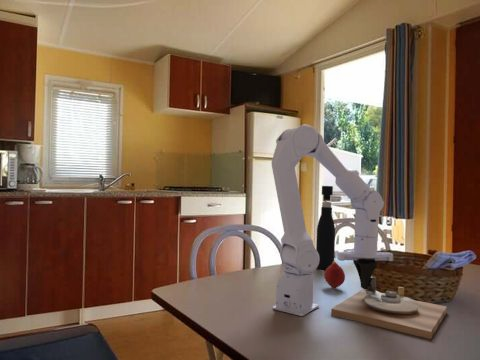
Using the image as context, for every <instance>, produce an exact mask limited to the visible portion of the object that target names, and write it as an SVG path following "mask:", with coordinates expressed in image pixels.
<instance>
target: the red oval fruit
mask: <svg viewBox="0 0 480 360" xmlns="http://www.w3.org/2000/svg"><path fill="white" fill-rule="evenodd" d="M323 276H324V280H325V282H326V283H327V284H328V286H330V287H331V288H332V289H334V290H335V289H338V288H339V287H340V286H342V285H343V284H344V282H345V280H346V275H345V271H344V269H343V268H342V267H341V266H340V265H339V264H338V263H337V262H336V261H335V260H334V261H333V262H332V265H330V266H329V267H328V268H327V269H326V271H324V274H323Z"/></svg>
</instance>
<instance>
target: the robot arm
mask: <svg viewBox="0 0 480 360" xmlns="http://www.w3.org/2000/svg"><path fill="white" fill-rule="evenodd" d="M275 142H276V146H275V149H274V152H273V156H272V157H271V158H272V160H271V169H272V174H273V181H274V186H275V191H276V195H277V202H278V206H279V212H280V217H281V222H282V223H281V224H282V228H283V233H284V234H283V235H282V237H281V238H280V242H281V249H280V252H279V254H280V255H279V256H280V259H281V261H282V262H283V264H284V266H283V274H282V276H280V277H279V278H278V279H277V283H276V290H275V291H276V295H275V305H273V306H272V309H273V310H277V311H278V312H279V311H280V312H284V313H286V314H287V313H288V314H291V315H296V316H298V317H303V316H305V315H307V314H308V313H310V312H312V311H314V310H315V309H318V308H319V306H320V304H317V303H313V302H314V278H315V277H314V275H315V271H316V270H317V269H316V268H317V267H318V265H319V260H320V257H319V254H318V252H317V250H316V246H315V245H314V241H313V239H312V237H311V236H310V234H309V233H308V231H307V228H306V227H307V226H306V222H305V217H304V216H305V215H304V211H303V205H302V199H301V194H300V189H299V183H298V177H297V172H296V167H297V165H298V164H299V162H300V161H301V160H302V159H303V157H304V156H306V157H312V158H314V159H315V160H316V161H317V162H318V163H320V164H321V165H322V167H324V168H325V169H326V170H328V172H329V173H330V174H331V175H332V176H333V177H335V186H337V187H338V188H339V190H340V191H342V193H343V194H344V195H345V196H346V197H347V198H348V199H349V200H350V206H351V207H352V208H353V209H354V210H355V211H354V214H355V215H354V243H353V245H354V246H353V250H350V251H337V260H338V261H341V262H343V261H353V264H354V267H355V268H356V271H357V274H358V277H359V278H358V279H359V282H360V288H361V289H363V290H366V289H367V288H368V283H369V280H370V278H371V276H372V275H373V274H374V271H375V270H376V268H377V267H378V262H377V261H388V262H393V261H394V254H393V253H392V252H386V251H385V252H384V251H383V252H381V251H378V236H379V235H378V233H379V218H380V217H381V216H380V215H381V211H382V209H383V208H384V205H385V200H383V198H382V195H381V194H380V192H379V191H377V190H373V189H371V185H370V184H369V183H367V182H365V181H364V179H363V178H362V177H361V176H360V172H359V171H358V170H354V169H352V168H346V167H345V165H343V163H342V162H341V161H340V160H339V158H338V157H337V156H336V155H335V153H334V152H333V151H332V150H331V148H330V147H329V146H328V145H327V143H326V142H325V141H324V138H323V135H322V134H321V133H319V132H318V131H317V129H316V128H315V127H313V126H312V125H311V124H302V125H300V126H297V127H294V128H288V129H285V130H283V132H282V133H281V134H280V135H279V136H278V137H277V138H276V140H275Z"/></svg>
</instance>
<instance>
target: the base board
mask: <svg viewBox="0 0 480 360" xmlns="http://www.w3.org/2000/svg"><path fill="white" fill-rule="evenodd" d="M397 288H398V289H397V295H400V296H404V297H405V287H403V286H398V287H397ZM365 295H368V294H366V290H365V289H363V290H362V289H361V290H359V291H358V292H355V293H354V294H352V295H351V296H349V297H347V299H345V300H343V301H342V302H340V303H338V304H336V305H335V306H333V307H332V308H331V316H335V317H337V318H342V319H346V320H350V321H355V322H358V323H362V324H366V325H370V326H375V327H379V328H384V329H388V330H391V331H396V332H400V333H403V334H407V335H411V336H416V337H420V338H424V339H428V340H431V339H432V338H433V336H434V335H435V333H436V331H437V330H438V328H439V326H440V324H441V323H442V321H444V320H443V319H444V318H445V316H446V314H447V312H448V307H447V306H445V305H440V304H435V303H431V302H426V301H425V302H424V301H419V300H415V299H414V300H415V301H416V302H417V303H418V304H419V307H418V311H417V312H416V313H412V314H394V313H387V312H382V311H379V310H375V309H373V308H370V307H368V306H367V305H366V304H365V303H364V297H365Z"/></svg>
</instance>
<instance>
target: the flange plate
mask: <svg viewBox="0 0 480 360" xmlns="http://www.w3.org/2000/svg"><path fill="white" fill-rule="evenodd" d="M365 291H366V294H368V295H365V297H364V303H365V304H366V305H367V306H368V307H370V308H373V309H375V310H379V311H382V312H387V313H394V314H412V313H416V312H417V311H418V307H419V304H418V303H417V302H416V301H417V300H416V301H415V299H412V298H410V297H407V296H405V295H404V296H400V295H398V292H396V291H393V290H386V291H385V292H380V291H377V277H376V276H372V275H371V278H370V280H369V283H368V288H367V289H365Z"/></svg>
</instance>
